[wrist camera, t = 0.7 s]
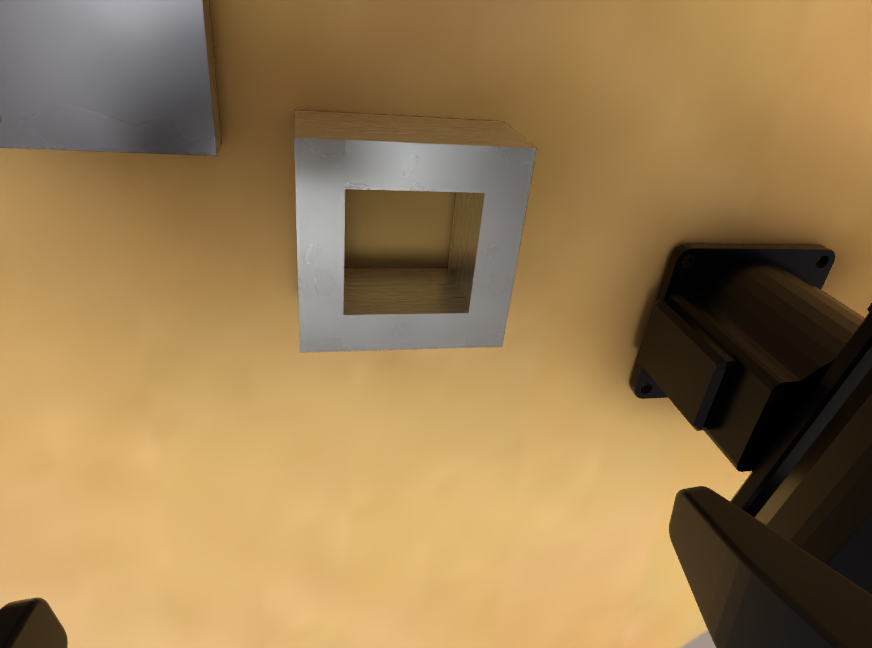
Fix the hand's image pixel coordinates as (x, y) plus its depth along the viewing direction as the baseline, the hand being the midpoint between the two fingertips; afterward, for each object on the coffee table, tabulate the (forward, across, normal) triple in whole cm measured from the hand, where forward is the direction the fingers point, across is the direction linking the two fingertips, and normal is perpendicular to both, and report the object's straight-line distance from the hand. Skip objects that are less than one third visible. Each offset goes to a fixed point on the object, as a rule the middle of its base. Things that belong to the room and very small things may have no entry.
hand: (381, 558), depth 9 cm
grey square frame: (+12, -2, 0) cm, 12 cm away
